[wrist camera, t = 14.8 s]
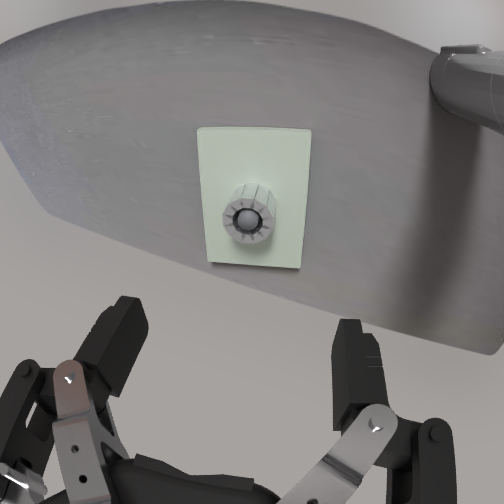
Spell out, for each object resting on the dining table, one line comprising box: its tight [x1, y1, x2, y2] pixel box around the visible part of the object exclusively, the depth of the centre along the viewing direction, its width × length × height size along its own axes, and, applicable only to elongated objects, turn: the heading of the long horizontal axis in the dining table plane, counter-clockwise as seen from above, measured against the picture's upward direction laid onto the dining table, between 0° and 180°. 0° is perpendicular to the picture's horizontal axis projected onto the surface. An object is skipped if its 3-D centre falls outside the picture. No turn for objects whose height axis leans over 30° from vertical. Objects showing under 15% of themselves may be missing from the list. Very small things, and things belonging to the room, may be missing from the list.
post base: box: [197, 127, 311, 268], centre depth 38 cm, size 20×14×7 cm
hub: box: [222, 183, 276, 244], centre depth 37 cm, size 6×6×5 cm
